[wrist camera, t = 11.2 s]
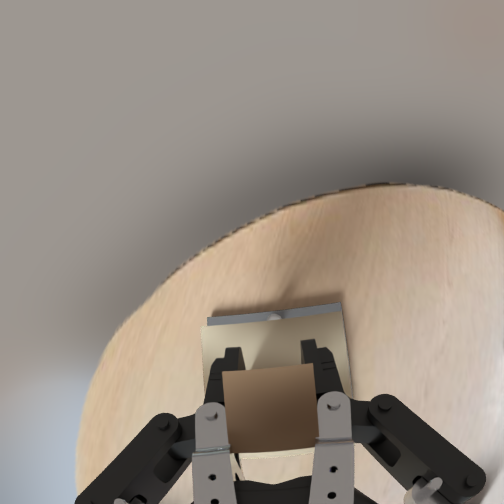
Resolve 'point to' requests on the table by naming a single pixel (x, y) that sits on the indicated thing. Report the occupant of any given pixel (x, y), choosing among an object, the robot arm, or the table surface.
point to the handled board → (278, 350)
